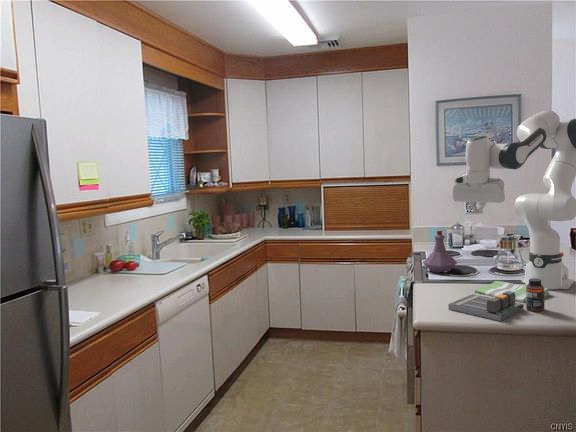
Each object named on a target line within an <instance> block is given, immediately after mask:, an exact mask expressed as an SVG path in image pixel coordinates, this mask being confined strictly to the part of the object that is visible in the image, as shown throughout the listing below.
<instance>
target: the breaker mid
mask: <svg viewBox="0 0 576 432" xmlns="http://www.w3.org/2000/svg"><path fill="white" fill-rule="evenodd" d="M494 298H498V299H500V301H501V309H504V308H506V307H508V297H507V295H502V294H500V295H497V296H495V297H494Z"/></svg>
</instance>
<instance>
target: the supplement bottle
mask: <svg viewBox="0 0 576 432" xmlns="http://www.w3.org/2000/svg"><path fill="white" fill-rule="evenodd" d="M525 286H526V303H525V308H526V310H527V311H529V312H535V313H536V312H537V313H539V312H543V311H545V298H544V286H543V285H541V279H537V278H531V279H529V284H528V285H525Z"/></svg>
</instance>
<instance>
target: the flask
mask: <svg viewBox="0 0 576 432" xmlns="http://www.w3.org/2000/svg"><path fill="white" fill-rule="evenodd" d="M445 237H446V236H445V235H443V231H442V230H437V231H436V235H434V239H435V244H434V248H433V250H432V252H431V253H430V255H429V256H428V257H426V258H425V259H424V260H423V262H422V263H423V264H424V266H425V267H426V268H427V269H428V270H429V271H430V272H431V273H434V272H444V271H449V270H450V271H452V269H453V268H454V267H455V266H456V265H457V264H458V261H456V259H455V258H453V257H452V256H451V254H450V253H449V252H448V251H447V249H446V246H445V242H444V239H445ZM450 271H449V272H450Z"/></svg>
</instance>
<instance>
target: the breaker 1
mask: <svg viewBox="0 0 576 432" xmlns="http://www.w3.org/2000/svg"><path fill="white" fill-rule="evenodd" d="M489 298H490V299H488V300H487V311H490V312H494V313H495V312H497V311H499V310H501V301H500V299H498V298H495V297H489Z"/></svg>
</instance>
